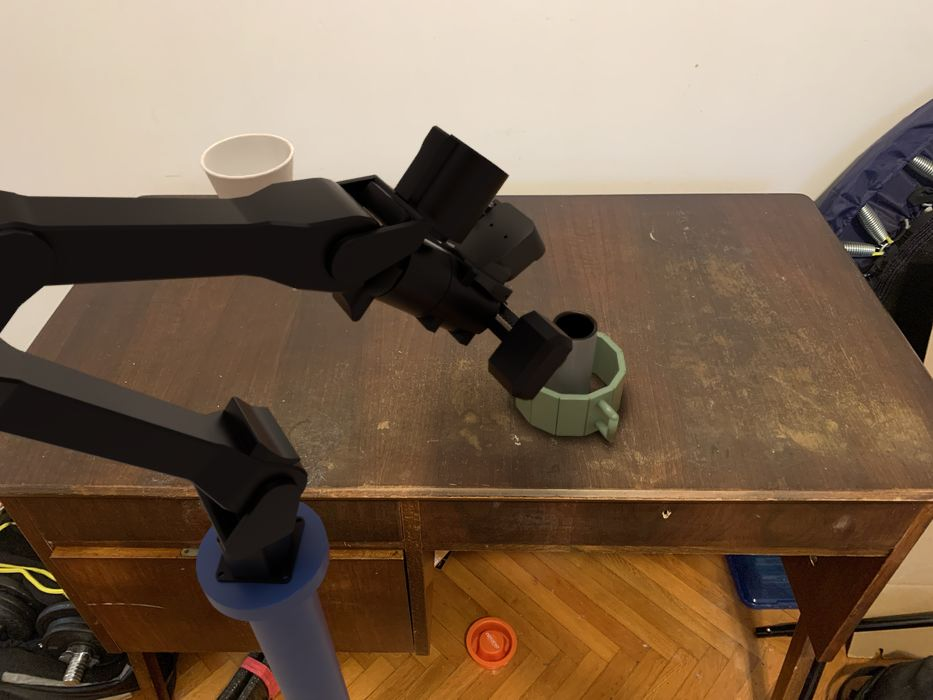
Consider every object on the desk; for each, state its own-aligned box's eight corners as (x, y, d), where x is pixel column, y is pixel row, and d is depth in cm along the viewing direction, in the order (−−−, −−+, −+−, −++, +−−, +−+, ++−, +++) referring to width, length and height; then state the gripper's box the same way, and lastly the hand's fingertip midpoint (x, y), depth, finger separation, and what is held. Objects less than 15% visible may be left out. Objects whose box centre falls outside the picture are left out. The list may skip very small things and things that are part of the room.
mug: (496, 382, 80) (497, 345, 76) (580, 349, 83) (584, 313, 80) (565, 469, 71) (570, 433, 67) (655, 429, 74) (664, 392, 71)
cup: (209, 230, 102) (185, 150, 94) (285, 203, 107) (269, 124, 99) (244, 270, 95) (221, 187, 87) (324, 239, 100) (310, 157, 92)
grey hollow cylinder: (582, 380, 80) (591, 307, 73) (592, 410, 76) (603, 337, 69) (541, 383, 79) (547, 311, 72) (550, 414, 76) (556, 342, 69)
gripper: (562, 254, 49) (657, 319, 60) (422, 144, 60) (525, 217, 72) (465, 383, 51) (575, 421, 63) (349, 253, 63) (460, 306, 74)
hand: (532, 333), depth 68 cm, fingers open, 9 cm apart
